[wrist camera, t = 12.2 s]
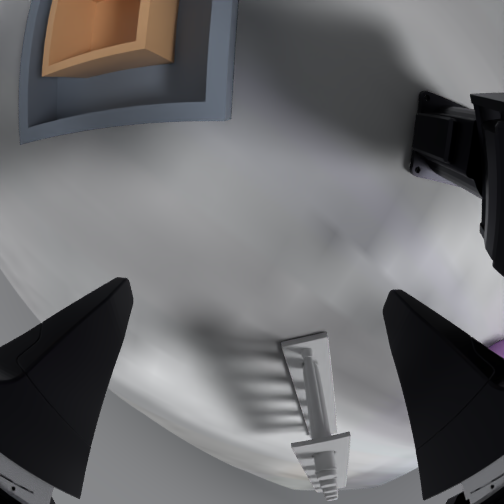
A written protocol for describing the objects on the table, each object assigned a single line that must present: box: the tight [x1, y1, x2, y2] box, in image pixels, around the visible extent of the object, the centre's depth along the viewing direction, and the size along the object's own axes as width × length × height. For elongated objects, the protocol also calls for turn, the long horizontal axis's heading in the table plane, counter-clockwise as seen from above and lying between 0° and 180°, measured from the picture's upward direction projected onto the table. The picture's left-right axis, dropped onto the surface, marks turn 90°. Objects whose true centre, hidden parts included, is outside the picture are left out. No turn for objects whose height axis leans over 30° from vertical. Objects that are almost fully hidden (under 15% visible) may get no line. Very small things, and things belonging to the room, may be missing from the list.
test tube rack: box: [281, 332, 350, 501], centre depth 25 cm, size 25×4×13 cm, turn 15°
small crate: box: [42, 0, 179, 78], centre depth 10 cm, size 6×6×5 cm
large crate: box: [19, 0, 239, 145], centre depth 11 cm, size 14×14×4 cm
